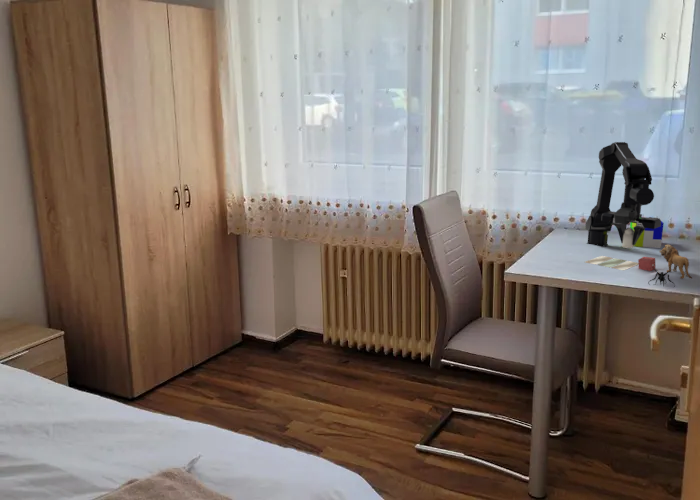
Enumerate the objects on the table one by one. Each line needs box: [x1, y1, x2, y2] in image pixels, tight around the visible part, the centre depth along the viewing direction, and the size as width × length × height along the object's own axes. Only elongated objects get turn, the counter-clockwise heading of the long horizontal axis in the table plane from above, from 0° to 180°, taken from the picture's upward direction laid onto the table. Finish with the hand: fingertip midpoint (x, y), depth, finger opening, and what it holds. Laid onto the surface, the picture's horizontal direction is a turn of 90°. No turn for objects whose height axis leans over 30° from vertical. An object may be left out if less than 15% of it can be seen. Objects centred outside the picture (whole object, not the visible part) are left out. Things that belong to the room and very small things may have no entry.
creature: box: [647, 268, 676, 288], centre depth 216 cm, size 8×5×8 cm
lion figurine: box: [659, 244, 693, 280], centre depth 227 cm, size 15×5×9 cm, turn 15°
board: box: [584, 255, 639, 271], centre depth 239 cm, size 15×14×1 cm
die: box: [637, 256, 656, 272], centre depth 231 cm, size 4×4×4 cm
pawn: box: [621, 227, 634, 249], centre depth 233 cm, size 4×4×7 cm
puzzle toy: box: [629, 216, 664, 249], centre depth 268 cm, size 10×10×10 cm
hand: (628, 244), depth 233 cm, fingers closed on pawn, 4 cm apart
